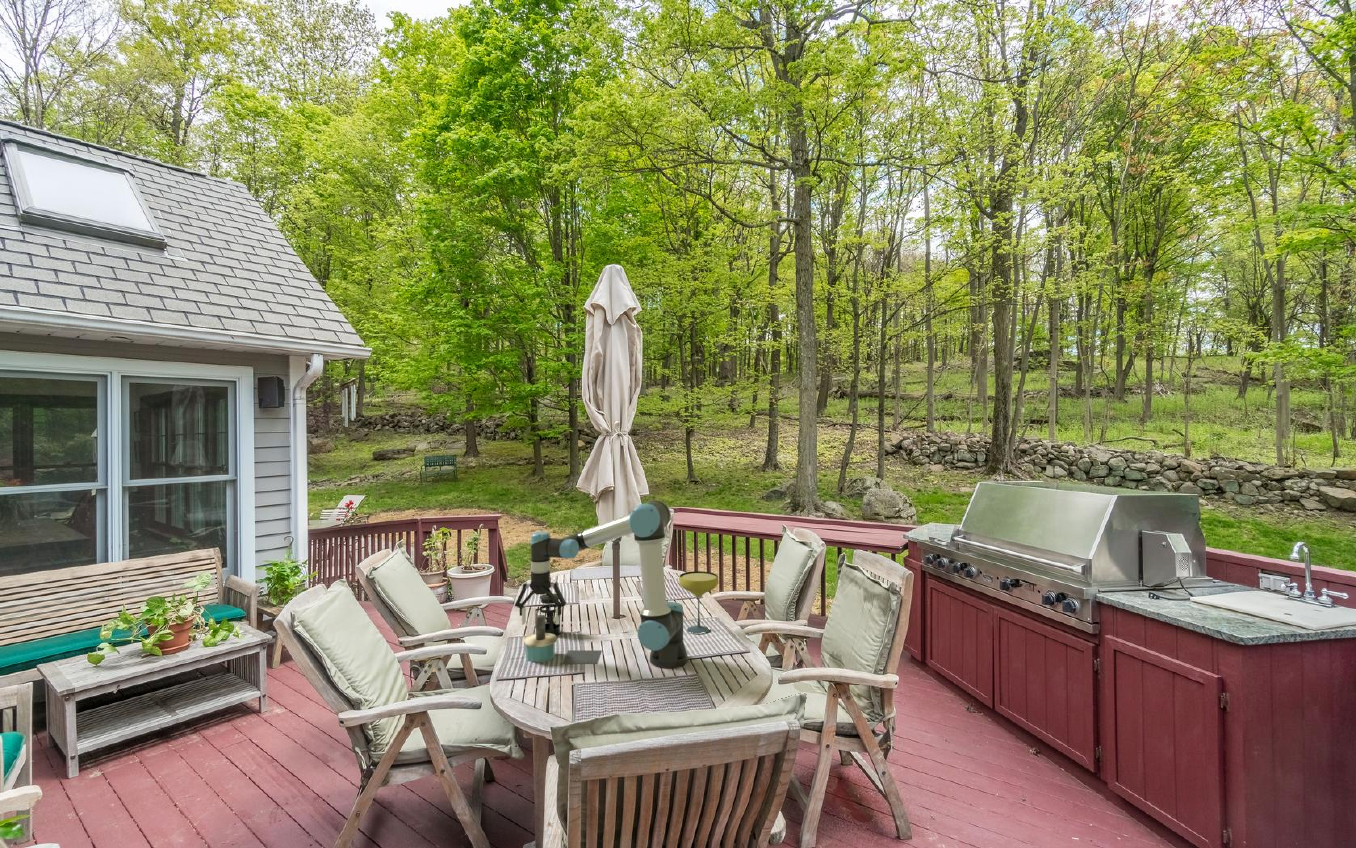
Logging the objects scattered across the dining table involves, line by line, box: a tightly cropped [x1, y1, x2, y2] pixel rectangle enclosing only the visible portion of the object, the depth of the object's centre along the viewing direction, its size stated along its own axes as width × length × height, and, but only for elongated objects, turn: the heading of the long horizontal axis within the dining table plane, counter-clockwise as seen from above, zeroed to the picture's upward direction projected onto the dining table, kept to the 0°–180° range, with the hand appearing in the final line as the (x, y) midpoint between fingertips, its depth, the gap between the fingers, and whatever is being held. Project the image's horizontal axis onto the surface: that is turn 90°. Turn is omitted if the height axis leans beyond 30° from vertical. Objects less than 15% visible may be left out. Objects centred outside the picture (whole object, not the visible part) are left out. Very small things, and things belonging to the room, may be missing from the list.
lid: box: [523, 614, 558, 647], centre depth 236 cm, size 13×13×10 cm
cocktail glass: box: [678, 570, 719, 634], centre depth 268 cm, size 18×18×25 cm
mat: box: [561, 649, 602, 665], centre depth 236 cm, size 14×14×1 cm
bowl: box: [525, 642, 556, 664], centre depth 236 cm, size 11×11×7 cm
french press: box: [534, 581, 561, 636], centre depth 264 cm, size 12×9×23 cm
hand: (540, 623), depth 236 cm, fingers open, 13 cm apart
